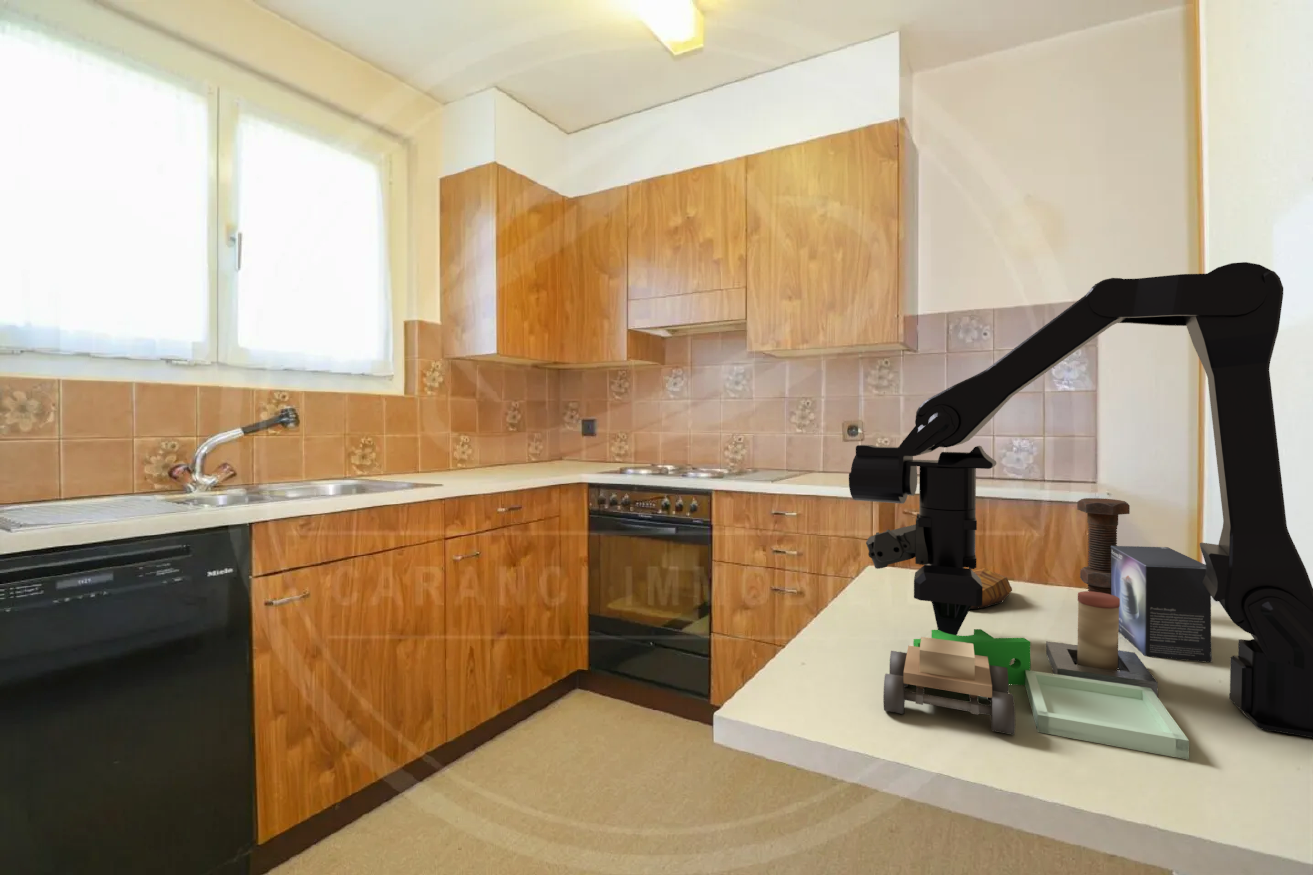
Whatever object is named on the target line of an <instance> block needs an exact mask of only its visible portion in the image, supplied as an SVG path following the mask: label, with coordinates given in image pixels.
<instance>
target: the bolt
mask: <svg viewBox="0 0 1313 875" xmlns="http://www.w3.org/2000/svg"><path fill="white" fill-rule="evenodd" d="M1076 507H1077V508H1076V509H1077V510H1078V511H1080V512H1083V513H1085V514H1087V517H1086V518H1087V524H1088V525H1087V526H1088V527H1087V529H1088V530H1087V531H1088V532H1087V533H1088V538H1087V540H1088V541H1087V545H1088V546H1087V548H1088V549H1087V550H1088V553H1087V564H1088V565H1087V566H1084V567H1082V568H1081V569H1079V570H1080V571H1079V572H1080V573H1079V578H1080V580H1081V581H1082V582H1083V583H1084V584H1086V585H1087V591H1091V592H1101V593H1106V594H1110V595H1111V546H1118V545H1117V544H1118V525H1119V515H1120V516H1121V515H1129V514H1130V513H1131V512H1130V507H1131V506H1130V505H1129V503H1128V502H1127V501H1125V500H1121V499H1113V498H1112V499H1111V498H1102V497H1101V498H1098V497H1092V498H1091V497H1089V498H1088V497H1084V498H1081V499H1079V500H1078V501H1077V506H1076Z"/></svg>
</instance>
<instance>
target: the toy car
mask: <svg viewBox="0 0 1313 875" xmlns="http://www.w3.org/2000/svg"><path fill="white" fill-rule="evenodd" d="M920 639H921V643H920V647H915V646H914V645H908V647H907V651H906V652H903V651H897V650H891V651H890V657H889V673H885V675H884V678H883V679H884V680H883V697H882V698H883V703H882V704H883V711H885V712H890V713H896V714H899V715H900V714H901V715H904V714H905V704H906V701H909V702H914V703H915V704H917V705H924V704H925V705H931V706H937V707H941V708H947V709H952V710H953V709H954V710H958V711H959V710H960V711H965V712H970V714H973V715H979V714H982V715H988V716H990V726H991V731H992V732H997V733H1002V734H1008V735H1012V736H1014V735H1015V732H1016V711H1015V710H1016V709H1015V698H1014V694H1013V693H1010V691H1009V690H1010V688H1009V686H1010V685H1009V683H1008V670H1007V668H1006V667H1000V666H993V665H989V663H988V657H986V656H979V655H974V646H973V644H972V643H965V642H957V641H950V640H942V639H935V638H932V637H926V636H921V637H920ZM909 685H911V686H912V685H913V686H915V687H916V689H915V691H909V690H906V688H908V687H909ZM925 688H929V689H935V690H943V691H949V692H954V693H960V694H964V695H965V694H966V695H969V701H967V700H961V699H956V698H951V697H943V696H938V695H934V694H933V695H932V694H926V693H925ZM979 697H984V698H987V701H989V702H990V704H985V703H979Z"/></svg>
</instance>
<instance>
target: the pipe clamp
mask: <svg viewBox="0 0 1313 875" xmlns="http://www.w3.org/2000/svg"><path fill="white" fill-rule="evenodd" d="M931 638H935V639H942V640H950V641H957V642H965V643H972V644H973V646H974V655H979V656H986V657H988V663H989V665H993V666H1000V667H1006V668H1007V670H1008V683H1009V684H1010V685H1009V686H1025V670H1030V671H1031V640H1028V639H1027V638H1025V637H993V636H992V635H990V634H989V633H987V632H986V631H984V630H983V629H981V628H976V629H973V634H971V635H970V634H969V635H958V634H957V635H952V634H948V633H944V632H942V631H940V630H938V629H931ZM920 643H921V638H913V646H915V647H920ZM1012 660H1014V661H1013V663H1012V664H1011V661H1012ZM1011 684H1012V685H1011Z"/></svg>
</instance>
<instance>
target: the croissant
mask: <svg viewBox="0 0 1313 875" xmlns="http://www.w3.org/2000/svg"><path fill="white" fill-rule="evenodd" d="M972 571H973V572H974V573H975V574H976V575H977V576H978V577H979V578H980V579H981V583H982V587H983V592H982V606H971V608H970V609H971V610H975V609H982V608H988V607H991V606H992V605H997V604H1002V603H1003V602H1004V601H1005V599H1006V598H1007V597H1008V596H1009V595H1010V594H1011V593H1012V591H1013V587H1012V586H1011V584H1010V582H1009V579H1008V577H1007V576H1005V575H1001V574H1000V573H997V572H995V571H992V570H990V569H989V568H987V567H983V568H979V569H974V570H972ZM1002 601H1003V602H1002ZM1001 602H1002V603H1001Z"/></svg>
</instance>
